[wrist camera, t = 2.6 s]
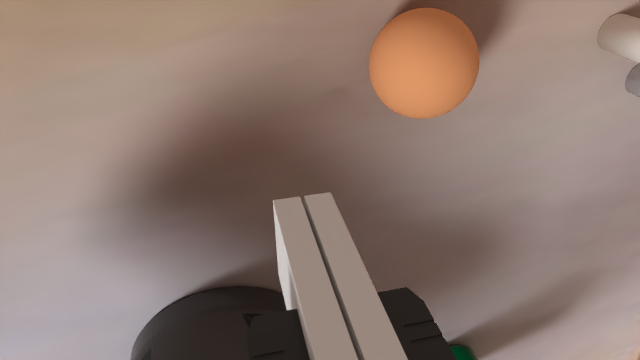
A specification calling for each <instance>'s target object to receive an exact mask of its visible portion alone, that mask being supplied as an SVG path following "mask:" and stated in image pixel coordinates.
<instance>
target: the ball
mask: <svg viewBox="0 0 640 360" xmlns="http://www.w3.org/2000/svg"><path fill="white" fill-rule="evenodd" d="M478 70H479V52H478V47H477V43H476V41H475V38H474V36H473V34H472V32H471V31H470V29H469V28H468V27H467V26H466V25H465V24H464V22H463V21H462V20H460V19H459V18H458V17H456V16H455V15H453V14H451V13H449V12H447V11H444V10H441V9H436V8H417V9H413V10H409V11H406V12H404V13H402V14H400V15H398V16H396V17H395V18H393V19H392V20H391V21H389V22H388V23H387V24H386V25H385V26H384V27H383V29H382V30H381V31H380V32H379V34H378V36H377V37H376V39H375V41H374V43H373V46H372V48H371V52H370V56H369V75H370V80H371V83H372V86H373V88H374V90H375V92H376V94H377V95H378V97H379V98H380V100H381V101H382V102H383V103H384V104H385V105H386V106H387V107H389V108H390V109H391V110H393V111H394V112H396V113H398V114H400V115H403V116H406V117H410V118H416V119H426V118H433V117H437V116H440V115H443V114H445V113H447V112H449V111H450V110H452V109H454V108H455V107H456V106H458V105H459V104H460V103H461V102H462V101H463V100H464V99H465V98H466V97H467V95H468V94H469V92H470V91H471V89H472V87H473V85H474V83H475V81H476V78H477V74H478Z"/></svg>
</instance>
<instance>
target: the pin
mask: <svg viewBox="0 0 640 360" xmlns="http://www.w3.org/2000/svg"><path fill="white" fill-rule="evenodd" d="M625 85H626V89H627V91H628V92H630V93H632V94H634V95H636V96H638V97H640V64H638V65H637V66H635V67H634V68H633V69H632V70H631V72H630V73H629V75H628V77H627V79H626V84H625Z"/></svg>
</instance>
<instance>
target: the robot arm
mask: <svg viewBox="0 0 640 360" xmlns="http://www.w3.org/2000/svg"><path fill="white" fill-rule="evenodd" d="M304 206H305V209H304ZM304 206H303V204H302V201H301V198H300V196H299V197H292V198H284V199H277V200H273V209H274V222H275V235H276V249H277V262H278V274H279V279H280V283H281V287H282V292H283V294H281V293H278V292H275V291H271V290H267V289H262V288H254V287H228V288H220V289H214V290H210V291H205V292H202V293H198V294H195V295H192V296H190V297H187V298H185V299H183V300H181V301H178V302H176V303H175V304H173V305H171V306H169V307H168V308H166V309H165V310H163V311H162V312H160V313H159V314H158V315H157V316H155V317H154V318H153V319H152V320H151V321H150V322H149V323H148V324H147V325H146V326H145V327H144V329H143V330H142V331H141V333H140V334H139V336H138V337H137V339H136V341H135V344H134V346H133V349H132V353H131V360H456V358H455V356H454V354H453V352H452V351H451V349H450V347H449V345H448V344H447V342H446V340H445V338H443V337H442V333H441V331H440V329H439V328H438V326H437V324H436V323H434V319H433V317H432V315H431V313H430V312H429V310H428V308H427V306H426V305H425V303H424V301H423V300H421V299H420V298H419V297H418V296H417V295H415V294H414V293H413V292H412V291H411V290H409V289H408V288H407V287H406V288H400V289H395V290H389V291H384V292H378V293H377V292H376V289H375V287H374V285H373V283H372V281H371V279H370V276H369V274H368V272H367V270H366V268H365V266H364V263H363V261H362V259H361V257H360V255H359V253H358V250H357V248H356V246H355V244H354V242H353V240H352V237H351V235H350V233H349V231H348V229H347V227H346V224H345V222H344V220H343V218H342V216H341V214H340V211H339V209H338V207H337V205H336V203H335V201H334V198H333V196H332V194H331V192H328V193H321V194H313V195H306V196H304Z"/></svg>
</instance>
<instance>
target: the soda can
mask: <svg viewBox="0 0 640 360" xmlns="http://www.w3.org/2000/svg"><path fill="white" fill-rule="evenodd" d="M449 347H450V349H451V351H452V352H453V354H454V356H455V358H456V360H478V359H477V357H476V355H475V354H474V352H473V351H472V350H471V349H470V348H468V347H465V346H462V345H451V346H449Z"/></svg>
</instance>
